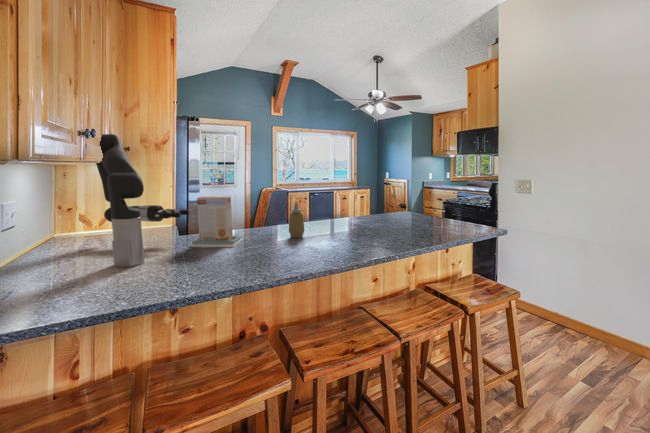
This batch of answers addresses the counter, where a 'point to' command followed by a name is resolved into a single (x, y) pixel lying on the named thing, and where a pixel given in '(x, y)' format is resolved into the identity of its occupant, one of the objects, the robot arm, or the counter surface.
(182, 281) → the counter surface
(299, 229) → the squeeze bottle
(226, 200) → the cracker box
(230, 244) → the docking plate
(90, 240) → the counter surface
